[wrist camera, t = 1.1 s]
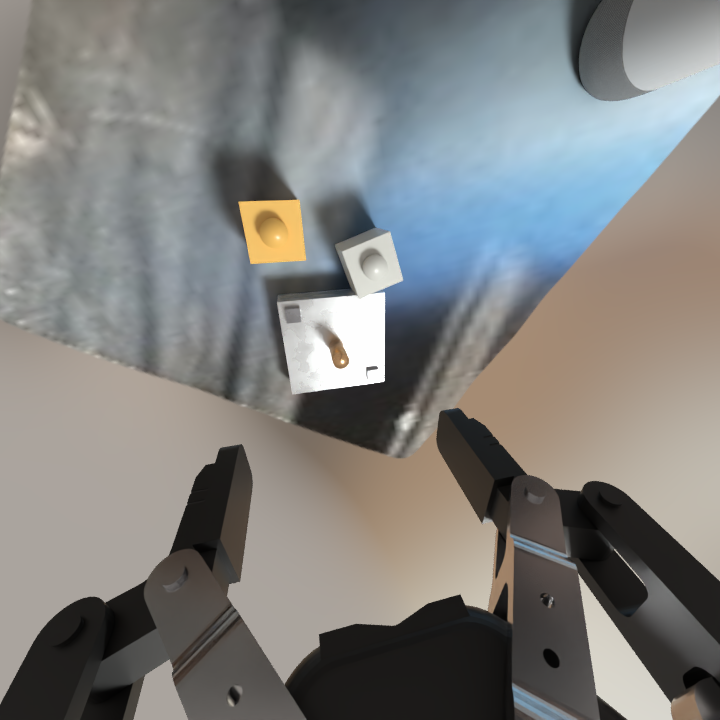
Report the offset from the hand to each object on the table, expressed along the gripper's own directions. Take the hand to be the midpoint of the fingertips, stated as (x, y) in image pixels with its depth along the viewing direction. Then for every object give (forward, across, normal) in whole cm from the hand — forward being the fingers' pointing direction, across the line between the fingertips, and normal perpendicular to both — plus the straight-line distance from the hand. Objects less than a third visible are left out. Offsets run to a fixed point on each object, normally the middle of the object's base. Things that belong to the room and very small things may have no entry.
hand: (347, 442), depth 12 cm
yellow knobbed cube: (+26, +3, -6) cm, 27 cm away
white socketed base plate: (+26, -2, +7) cm, 27 cm away
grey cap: (+26, -6, -2) cm, 27 cm away
